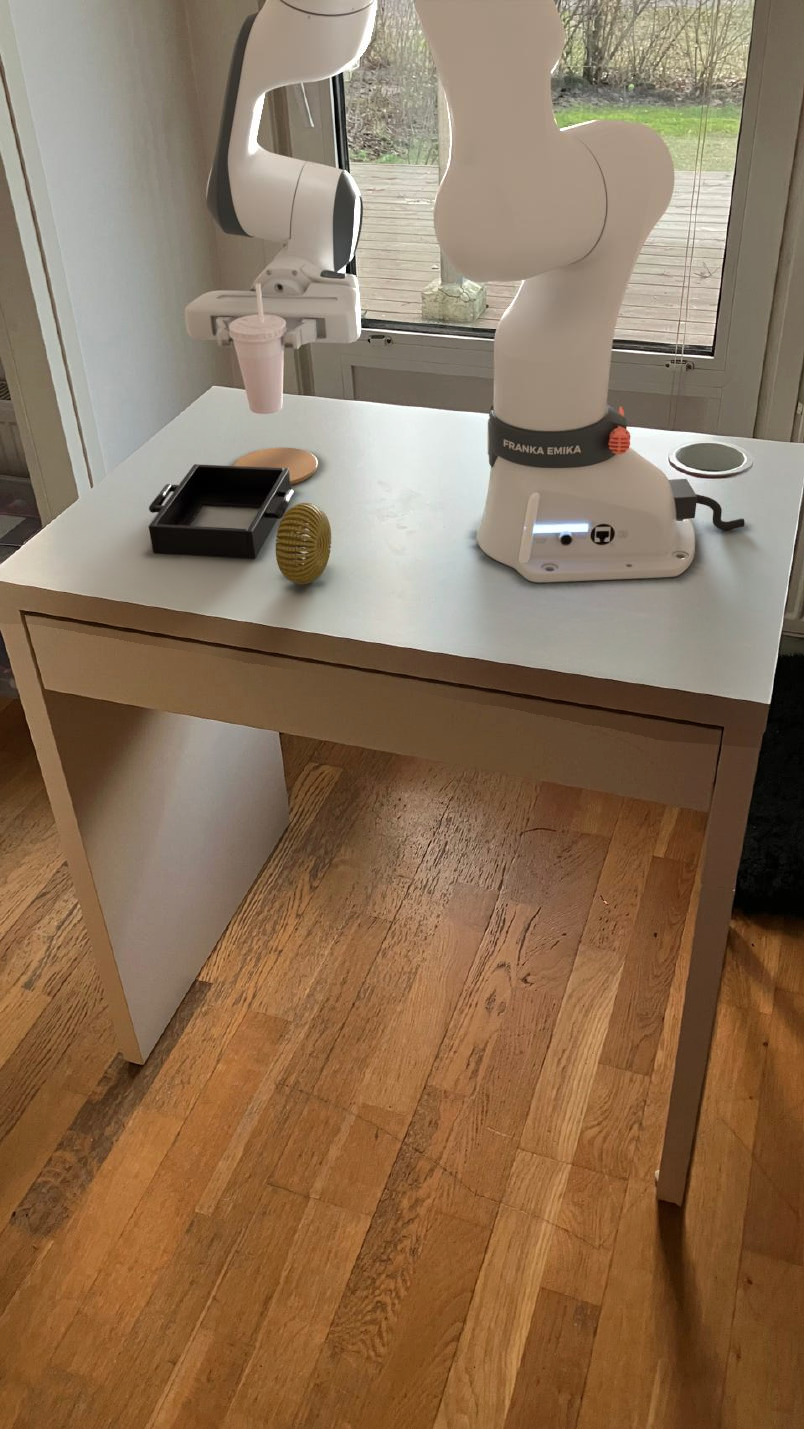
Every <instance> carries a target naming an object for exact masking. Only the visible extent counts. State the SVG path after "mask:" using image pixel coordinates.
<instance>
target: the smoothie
mask: <svg viewBox="0 0 804 1429" xmlns="http://www.w3.org/2000/svg"><path fill="white" fill-rule="evenodd" d="M255 286H256V295H257V305H258V314H259V315H249V316H244V317H241V318H238V319H236V320H234V321H232V322H231V323H230V324H229V336H230V337H231V338H232V339H233V340H234V345H233V346H234V349H235V352H236V358H237V361H238V365H239V369H240V374H241V377H242V381H243V385H244V390H245V394H246V398H247V401H248V405H249V409H250V411H251V412H252V413H255V414H259V415H267V414H269V415H270V414H275V413H276V412H279V411H281V410H282V409H283V399H284V398H283V397H284V396H283V395H284V394H283V393H284V392H283V391H284V356H285V346H284V344H285V342H284V333H285V332H286V330H287V328H286V321H285V320H284V319H283V318H281V317H278V316H275V315H266V314H264V313H263V303H262V294H261V284H260V283H256V284H255Z"/></svg>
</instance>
